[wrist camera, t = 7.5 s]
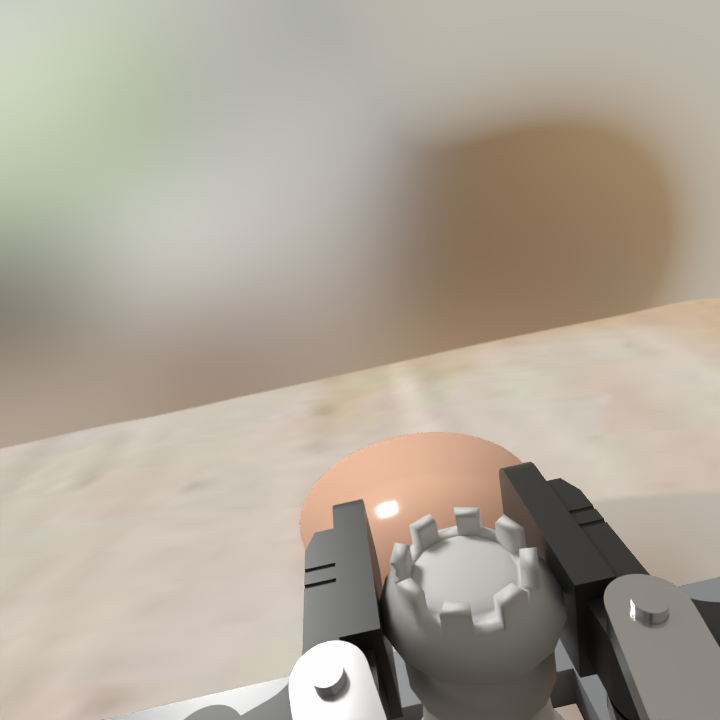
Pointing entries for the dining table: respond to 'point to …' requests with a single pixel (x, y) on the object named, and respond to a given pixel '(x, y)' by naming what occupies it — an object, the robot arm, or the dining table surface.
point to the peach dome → (410, 486)
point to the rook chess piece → (474, 620)
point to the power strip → (564, 692)
